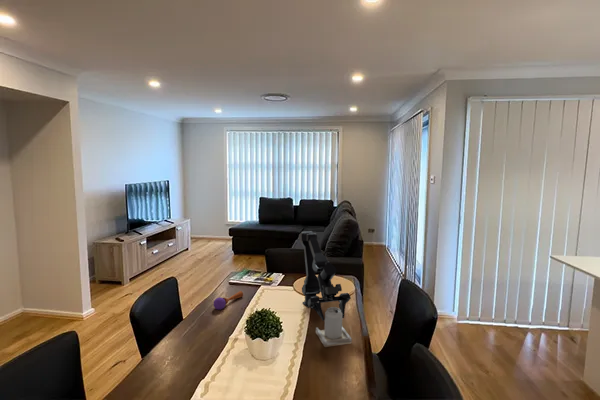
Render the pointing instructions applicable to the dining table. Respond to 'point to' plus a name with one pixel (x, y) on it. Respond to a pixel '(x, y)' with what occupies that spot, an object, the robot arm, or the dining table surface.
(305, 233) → the robot arm
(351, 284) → the dining table surface
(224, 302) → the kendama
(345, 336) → the rail dock
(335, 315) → the can
